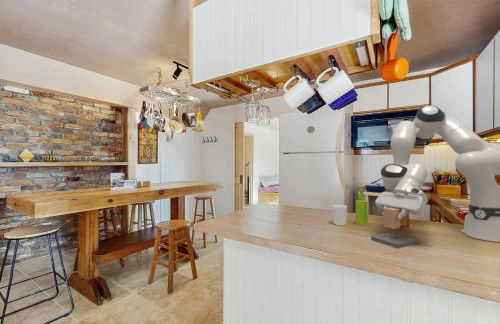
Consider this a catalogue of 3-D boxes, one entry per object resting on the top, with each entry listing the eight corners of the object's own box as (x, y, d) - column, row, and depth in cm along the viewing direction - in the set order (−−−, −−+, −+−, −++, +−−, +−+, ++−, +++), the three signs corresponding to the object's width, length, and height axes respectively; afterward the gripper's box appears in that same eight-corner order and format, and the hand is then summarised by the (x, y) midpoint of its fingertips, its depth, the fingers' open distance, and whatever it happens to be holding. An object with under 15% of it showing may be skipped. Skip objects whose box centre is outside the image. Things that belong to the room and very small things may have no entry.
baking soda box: (390, 222, 137) (389, 194, 137) (403, 223, 135) (403, 194, 135) (394, 227, 128) (394, 196, 128) (408, 227, 126) (408, 197, 126)
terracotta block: (390, 224, 109) (390, 207, 109) (400, 227, 105) (400, 209, 105) (383, 226, 107) (383, 208, 107) (393, 228, 103) (393, 210, 103)
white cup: (350, 224, 134) (350, 206, 134) (340, 226, 130) (340, 208, 130) (338, 221, 141) (338, 204, 141) (329, 223, 137) (329, 205, 137)
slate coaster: (388, 235, 114) (388, 232, 114) (415, 243, 103) (415, 239, 103) (371, 239, 108) (371, 236, 108) (397, 248, 98) (397, 244, 98)
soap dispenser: (363, 222, 138) (363, 187, 138) (369, 225, 131) (369, 188, 131) (353, 222, 138) (352, 187, 137) (359, 225, 131) (358, 188, 131)
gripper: (380, 186, 118) (366, 208, 114) (426, 191, 100) (411, 217, 96) (386, 194, 120) (373, 216, 116) (432, 201, 102) (418, 227, 98)
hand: (391, 217), depth 106 cm, fingers closed on terracotta block, 4 cm apart
